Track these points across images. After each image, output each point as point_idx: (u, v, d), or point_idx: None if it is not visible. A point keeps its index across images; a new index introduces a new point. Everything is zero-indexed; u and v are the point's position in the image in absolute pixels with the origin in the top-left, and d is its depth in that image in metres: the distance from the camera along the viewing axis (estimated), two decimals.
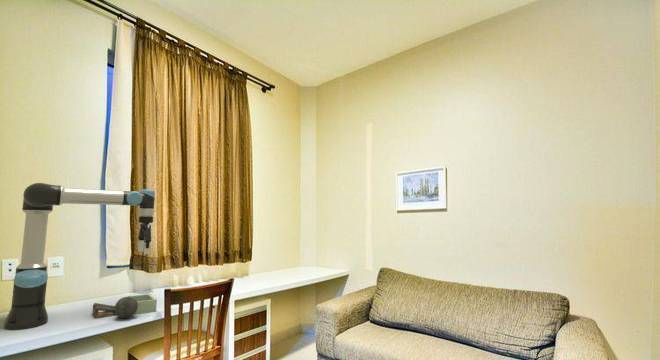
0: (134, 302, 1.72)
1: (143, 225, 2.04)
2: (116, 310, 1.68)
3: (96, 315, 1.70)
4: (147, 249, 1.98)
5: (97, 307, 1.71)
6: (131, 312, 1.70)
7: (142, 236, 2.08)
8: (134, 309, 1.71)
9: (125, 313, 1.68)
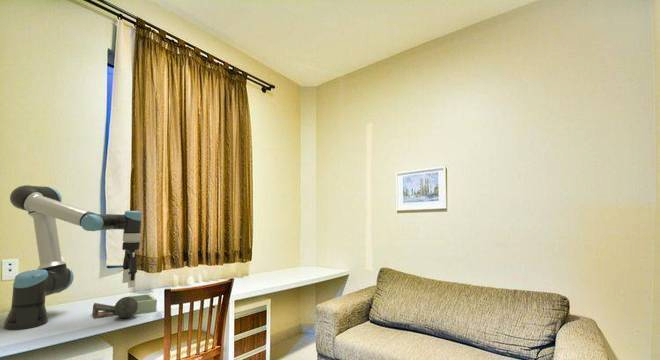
0: (134, 302, 1.72)
1: (128, 252, 1.74)
2: (116, 310, 1.68)
3: (96, 315, 1.70)
4: (132, 282, 1.69)
5: (97, 307, 1.71)
6: (131, 312, 1.70)
7: (127, 265, 1.79)
8: (134, 309, 1.71)
9: (125, 313, 1.68)
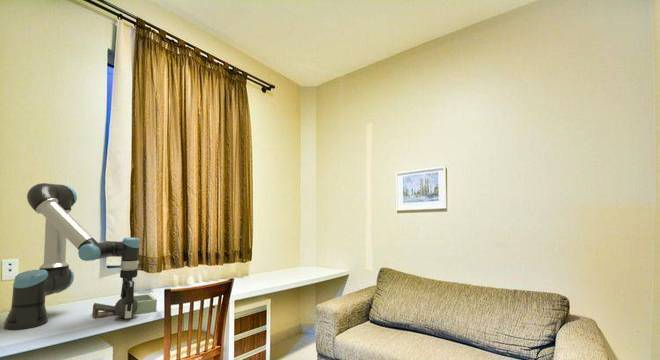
0: (134, 302, 1.72)
1: (125, 280, 1.73)
2: (116, 310, 1.68)
3: (96, 315, 1.70)
4: (129, 312, 1.68)
5: (97, 307, 1.71)
6: None
7: (125, 293, 1.76)
8: (134, 309, 1.71)
9: None
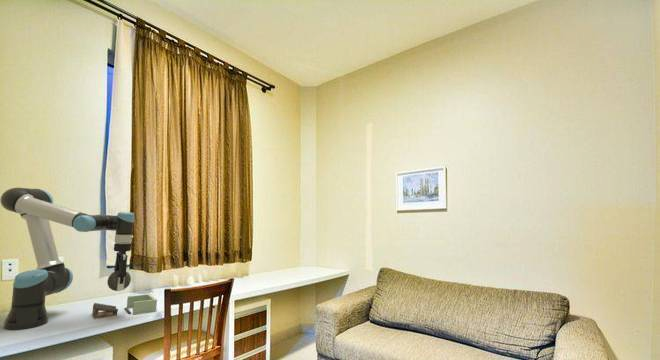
0: (127, 275, 1.74)
1: (119, 254, 1.75)
2: (109, 282, 1.70)
3: (96, 315, 1.70)
4: (121, 285, 1.70)
5: (97, 307, 1.71)
6: (124, 285, 1.72)
7: (118, 267, 1.78)
8: (127, 282, 1.73)
9: None
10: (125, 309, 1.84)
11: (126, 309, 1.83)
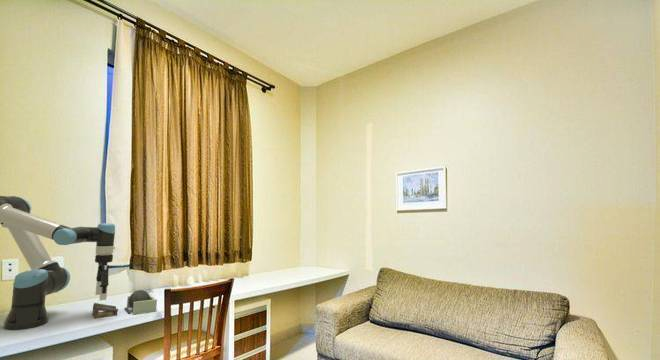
0: None
1: (100, 265, 1.76)
2: None
3: (96, 315, 1.70)
4: (104, 294, 1.70)
5: (97, 307, 1.71)
6: (143, 297, 1.83)
7: (100, 277, 1.80)
8: (140, 299, 1.82)
9: (147, 297, 1.86)
10: (125, 309, 1.84)
11: (126, 309, 1.83)
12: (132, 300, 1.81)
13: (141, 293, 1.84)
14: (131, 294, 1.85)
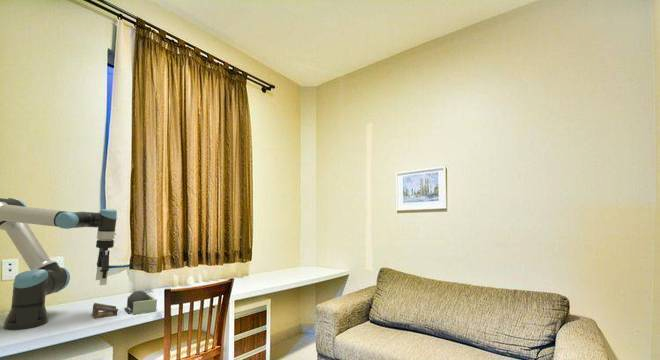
0: None
1: (101, 250, 1.76)
2: None
3: (96, 315, 1.70)
4: (104, 279, 1.71)
5: (97, 307, 1.71)
6: (141, 298, 1.82)
7: (101, 262, 1.81)
8: None
9: (146, 297, 1.85)
10: (125, 309, 1.84)
11: (126, 309, 1.83)
12: (131, 302, 1.81)
13: (139, 294, 1.83)
14: (129, 296, 1.84)
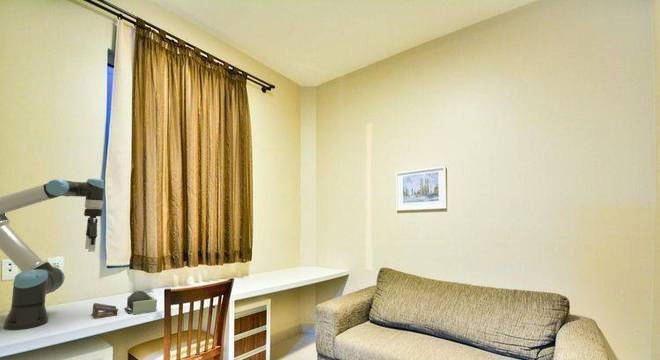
0: None
1: (90, 219, 1.80)
2: None
3: (96, 315, 1.70)
4: (92, 246, 1.74)
5: (97, 307, 1.71)
6: (142, 299, 1.82)
7: (90, 231, 1.84)
8: None
9: (146, 297, 1.85)
10: (125, 309, 1.84)
11: (126, 309, 1.83)
12: (131, 302, 1.81)
13: (139, 295, 1.83)
14: (129, 296, 1.84)
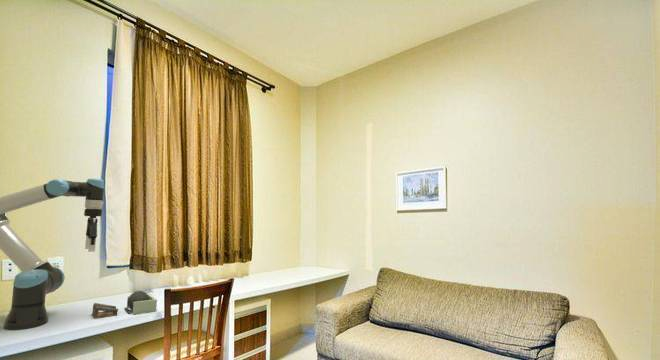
0: None
1: (90, 219, 1.80)
2: None
3: (96, 315, 1.70)
4: (92, 246, 1.74)
5: (97, 307, 1.71)
6: (142, 299, 1.82)
7: (90, 231, 1.84)
8: None
9: (146, 297, 1.85)
10: (125, 309, 1.84)
11: (126, 309, 1.83)
12: (131, 302, 1.81)
13: (139, 295, 1.83)
14: (129, 296, 1.84)
